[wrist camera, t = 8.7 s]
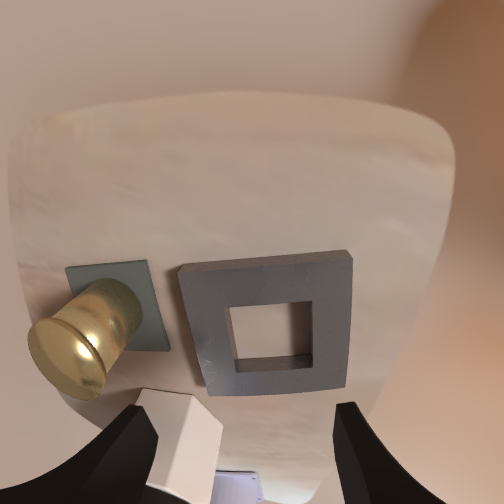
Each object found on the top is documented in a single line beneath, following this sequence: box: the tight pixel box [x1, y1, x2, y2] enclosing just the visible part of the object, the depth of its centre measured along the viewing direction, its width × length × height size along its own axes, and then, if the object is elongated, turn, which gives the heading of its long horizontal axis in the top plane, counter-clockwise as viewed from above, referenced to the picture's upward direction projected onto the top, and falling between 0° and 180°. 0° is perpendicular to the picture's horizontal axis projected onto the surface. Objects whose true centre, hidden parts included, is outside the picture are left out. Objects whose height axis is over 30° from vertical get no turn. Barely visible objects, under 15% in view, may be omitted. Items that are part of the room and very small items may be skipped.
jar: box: [135, 388, 223, 504], centre depth 18 cm, size 9×8×12 cm
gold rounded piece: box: [28, 278, 143, 400], centre depth 16 cm, size 5×5×7 cm
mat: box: [65, 260, 171, 352], centre depth 19 cm, size 7×7×1 cm
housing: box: [177, 250, 353, 396], centre depth 19 cm, size 10×10×2 cm
